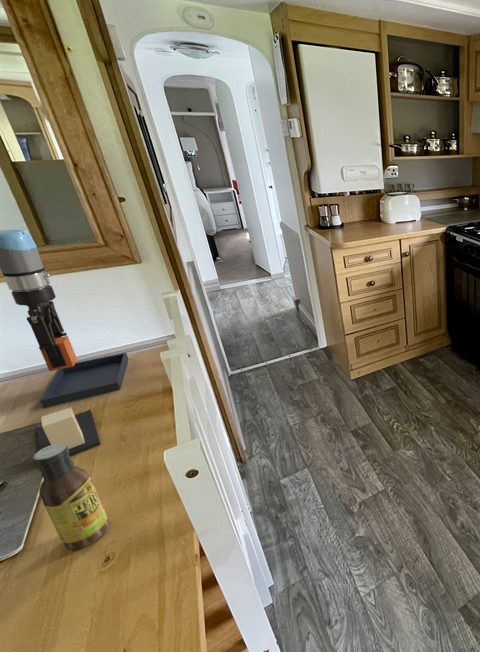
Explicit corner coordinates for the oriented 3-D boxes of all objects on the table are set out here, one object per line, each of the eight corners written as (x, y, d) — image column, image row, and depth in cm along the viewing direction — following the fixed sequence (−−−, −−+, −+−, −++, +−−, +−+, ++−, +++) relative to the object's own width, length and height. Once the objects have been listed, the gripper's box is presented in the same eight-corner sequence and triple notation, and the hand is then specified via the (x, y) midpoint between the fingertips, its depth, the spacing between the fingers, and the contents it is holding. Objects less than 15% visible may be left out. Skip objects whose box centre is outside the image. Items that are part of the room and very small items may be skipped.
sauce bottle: (97, 547, 69) (55, 463, 61) (56, 554, 67) (8, 470, 60) (118, 516, 74) (83, 436, 67) (81, 522, 73) (40, 441, 66)
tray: (63, 374, 120) (59, 366, 118) (129, 360, 128) (126, 352, 127) (44, 409, 104) (39, 400, 102) (121, 391, 112) (117, 382, 111)
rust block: (54, 363, 112) (43, 339, 109) (77, 359, 114) (67, 335, 111) (49, 371, 108) (38, 347, 105) (73, 366, 111) (63, 342, 108)
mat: (41, 467, 85) (40, 464, 85) (38, 430, 96) (37, 427, 96) (100, 444, 92) (99, 441, 92) (91, 411, 103) (90, 409, 103)
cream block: (82, 433, 94) (70, 407, 91) (84, 443, 91) (72, 416, 88) (54, 443, 91) (40, 417, 88) (55, 454, 88) (41, 426, 85)
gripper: (41, 295, 97) (73, 372, 106) (59, 276, 111) (85, 346, 120) (-2, 300, 93) (34, 380, 102) (22, 280, 107) (52, 352, 115)
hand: (62, 361), depth 111 cm, fingers closed on rust block, 5 cm apart
